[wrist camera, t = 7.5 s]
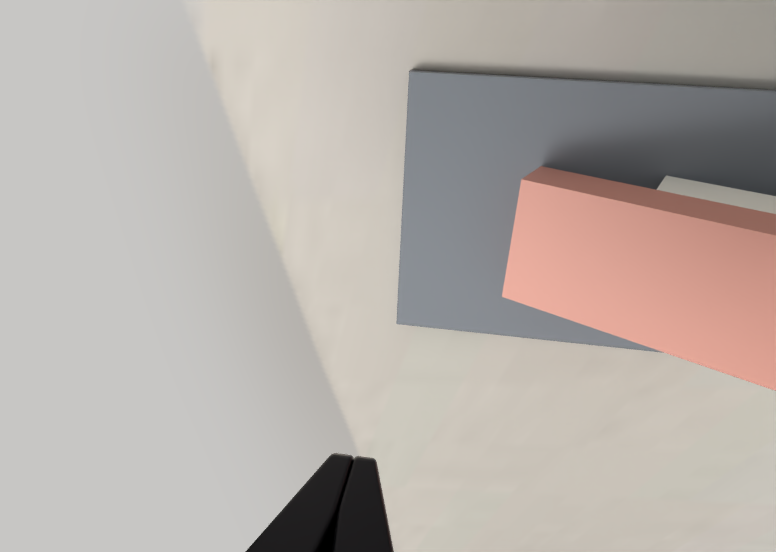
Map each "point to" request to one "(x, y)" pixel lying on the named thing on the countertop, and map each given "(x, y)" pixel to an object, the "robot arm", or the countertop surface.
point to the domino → (649, 269)
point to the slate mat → (553, 150)
